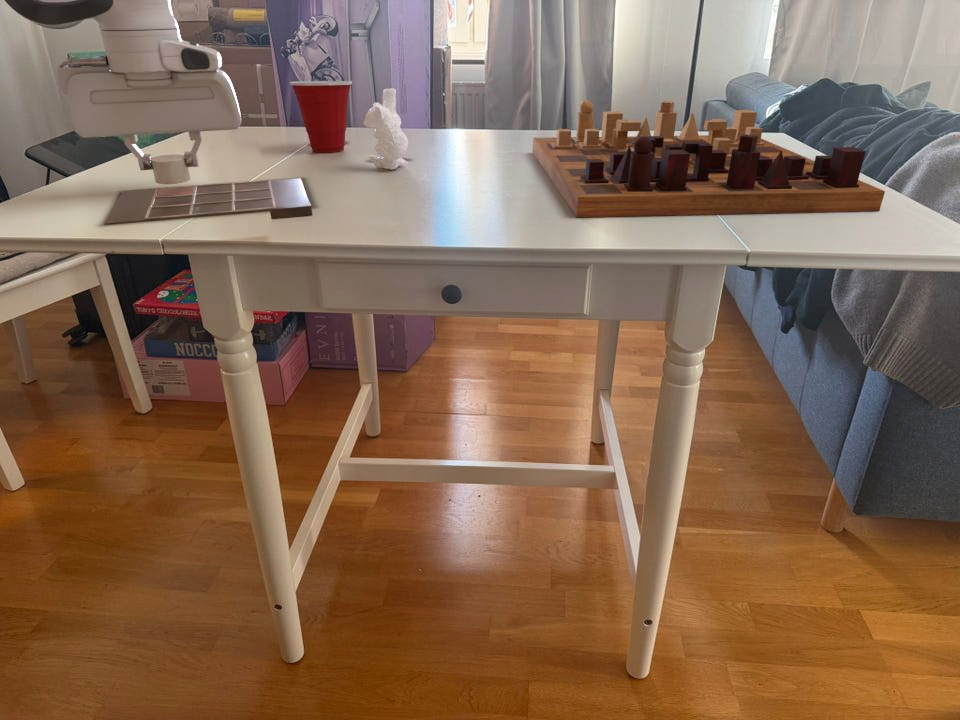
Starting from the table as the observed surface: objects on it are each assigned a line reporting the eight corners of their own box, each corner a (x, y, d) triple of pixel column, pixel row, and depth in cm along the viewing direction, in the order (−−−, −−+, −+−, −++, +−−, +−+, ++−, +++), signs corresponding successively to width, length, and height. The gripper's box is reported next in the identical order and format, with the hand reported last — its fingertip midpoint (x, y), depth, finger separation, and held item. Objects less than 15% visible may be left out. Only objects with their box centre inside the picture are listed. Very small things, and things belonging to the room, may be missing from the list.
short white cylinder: (154, 185, 89) (148, 162, 87) (157, 178, 92) (152, 155, 91) (189, 182, 90) (184, 159, 89) (191, 175, 94) (186, 153, 92)
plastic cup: (361, 143, 128) (355, 75, 123) (354, 155, 119) (348, 82, 113) (303, 144, 128) (295, 76, 122) (292, 156, 118) (283, 82, 113)
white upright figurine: (380, 160, 115) (375, 85, 109) (418, 162, 113) (414, 86, 108) (361, 172, 108) (354, 91, 102) (401, 174, 106) (396, 93, 100)
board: (106, 233, 80) (103, 222, 79) (124, 199, 93) (122, 190, 93) (312, 215, 86) (311, 205, 86) (301, 186, 100) (300, 177, 99)
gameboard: (749, 149, 123) (759, 96, 118) (879, 210, 88) (900, 138, 83) (532, 152, 120) (534, 98, 116) (576, 217, 85) (581, 142, 81)
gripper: (46, 59, 78) (80, 178, 85) (230, 54, 84) (249, 167, 90) (58, 55, 84) (89, 168, 90) (230, 51, 89) (248, 157, 96)
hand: (170, 167), depth 90 cm, fingers closed on short white cylinder, 4 cm apart
